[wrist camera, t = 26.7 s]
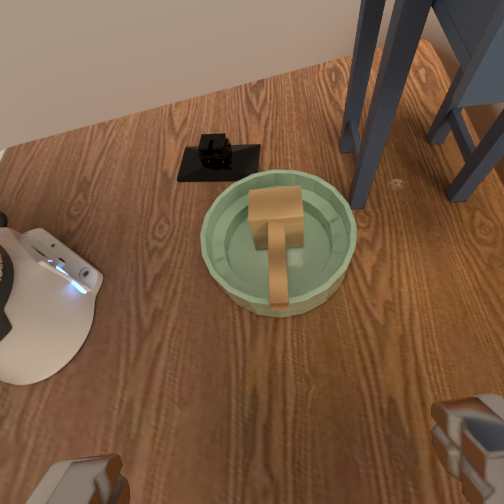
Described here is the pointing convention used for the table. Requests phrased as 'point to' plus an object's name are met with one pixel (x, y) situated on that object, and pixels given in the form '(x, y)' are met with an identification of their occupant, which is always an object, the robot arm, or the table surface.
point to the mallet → (277, 234)
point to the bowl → (298, 258)
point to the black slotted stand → (218, 160)
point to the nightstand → (395, 74)
